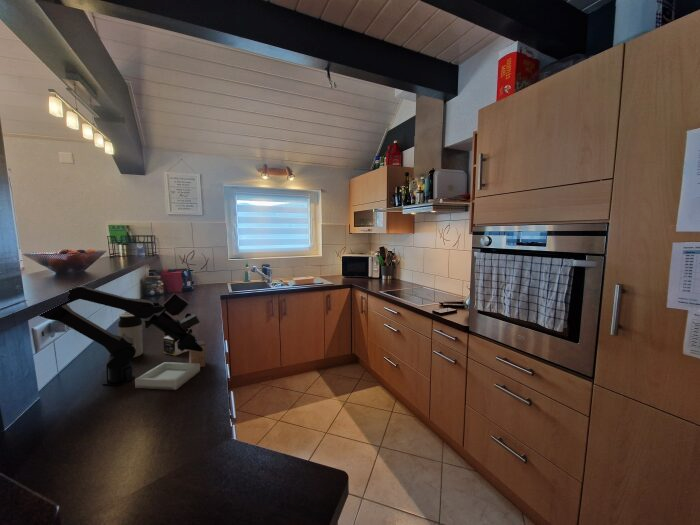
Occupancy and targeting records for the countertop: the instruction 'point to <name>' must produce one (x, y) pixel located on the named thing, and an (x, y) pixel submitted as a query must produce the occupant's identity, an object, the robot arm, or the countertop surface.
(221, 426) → the countertop surface
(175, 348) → the medicine bottle
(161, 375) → the tray
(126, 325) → the travel mug
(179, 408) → the countertop surface
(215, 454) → the countertop surface
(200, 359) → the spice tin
